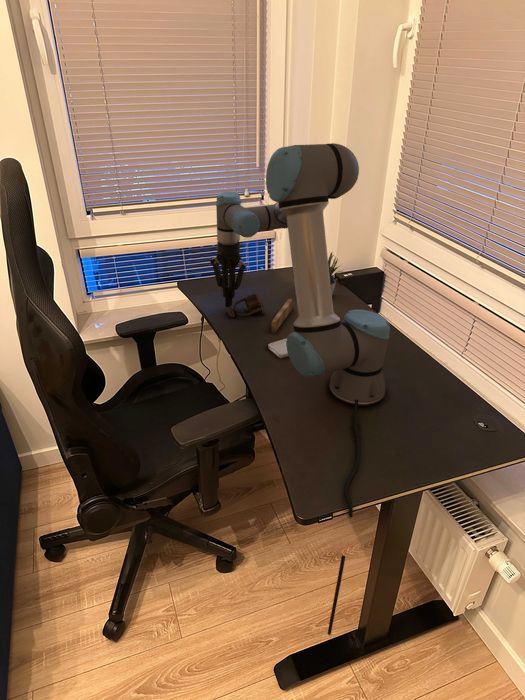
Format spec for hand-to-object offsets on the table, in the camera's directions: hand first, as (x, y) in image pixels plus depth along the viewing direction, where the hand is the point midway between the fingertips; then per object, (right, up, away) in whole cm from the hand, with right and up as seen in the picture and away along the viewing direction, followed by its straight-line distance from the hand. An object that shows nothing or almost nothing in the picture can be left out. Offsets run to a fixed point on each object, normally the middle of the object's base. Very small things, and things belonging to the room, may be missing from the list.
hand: (228, 305), depth 177 cm
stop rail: (+18, -5, -5) cm, 20 cm away
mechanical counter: (+6, -3, -1) cm, 7 cm away
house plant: (+35, +5, +14) cm, 38 cm away
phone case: (+22, -15, -19) cm, 32 cm away
